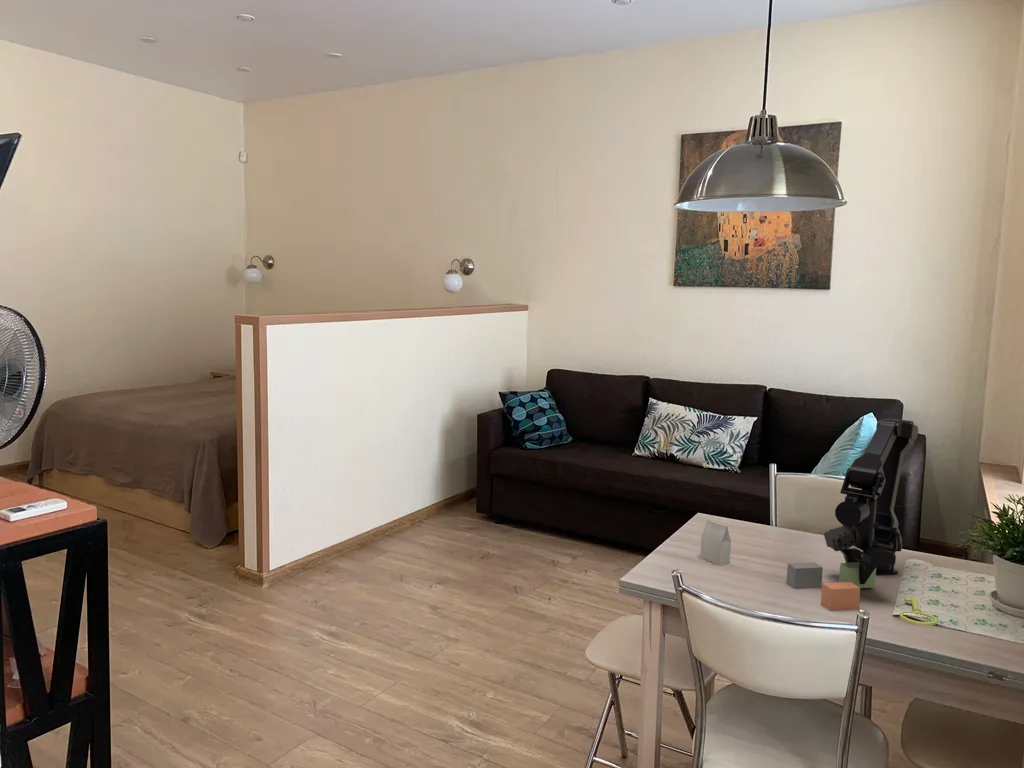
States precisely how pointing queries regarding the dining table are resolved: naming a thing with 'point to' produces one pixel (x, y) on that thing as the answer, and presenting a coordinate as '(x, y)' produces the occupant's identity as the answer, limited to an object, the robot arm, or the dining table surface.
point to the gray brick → (804, 575)
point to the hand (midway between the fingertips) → (857, 580)
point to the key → (917, 611)
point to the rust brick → (840, 596)
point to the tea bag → (715, 543)
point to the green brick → (855, 575)
